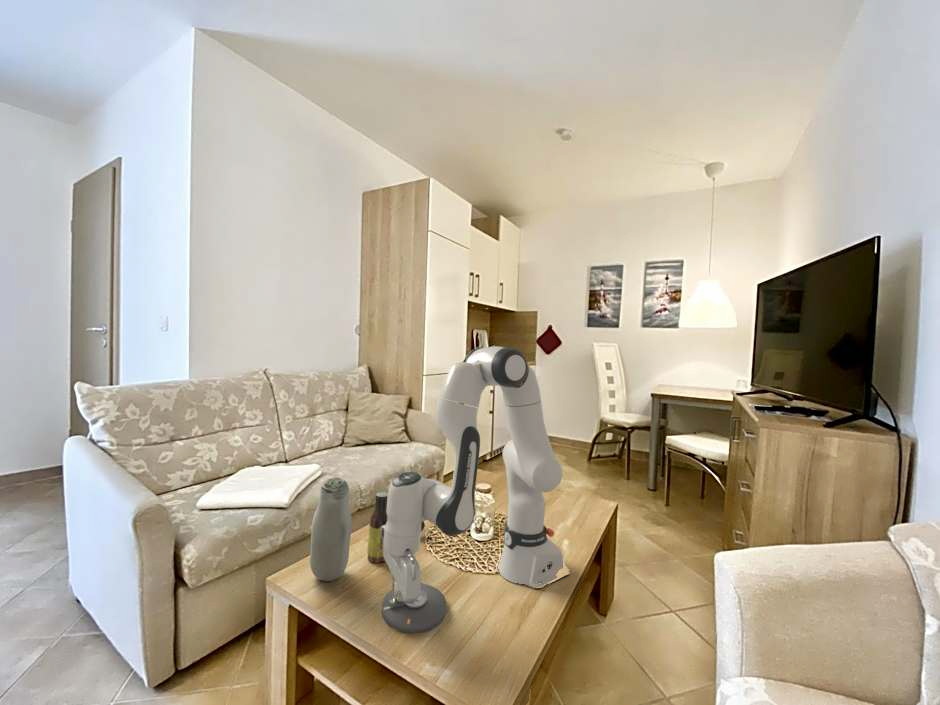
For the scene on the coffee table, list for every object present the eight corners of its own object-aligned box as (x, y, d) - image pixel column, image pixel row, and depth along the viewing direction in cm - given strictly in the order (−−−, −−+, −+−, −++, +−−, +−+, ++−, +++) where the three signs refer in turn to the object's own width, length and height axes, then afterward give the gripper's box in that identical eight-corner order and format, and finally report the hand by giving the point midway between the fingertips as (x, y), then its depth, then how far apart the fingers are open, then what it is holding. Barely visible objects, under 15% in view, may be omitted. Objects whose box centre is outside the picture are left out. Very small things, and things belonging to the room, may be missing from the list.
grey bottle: (301, 581, 109) (307, 481, 108) (327, 562, 119) (333, 470, 118) (330, 592, 106) (337, 488, 105) (354, 572, 115) (361, 476, 114)
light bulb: (421, 591, 106) (423, 569, 105) (430, 605, 100) (431, 582, 100) (386, 599, 101) (388, 576, 101) (393, 615, 96) (394, 590, 96)
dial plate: (432, 584, 113) (432, 576, 112) (455, 623, 98) (456, 614, 98) (375, 597, 105) (375, 589, 105) (391, 641, 91) (392, 631, 91)
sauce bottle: (382, 565, 120) (387, 500, 119) (363, 561, 121) (367, 497, 120) (391, 554, 126) (395, 492, 125) (372, 550, 127) (377, 489, 127)
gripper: (429, 560, 91) (425, 619, 92) (402, 520, 109) (398, 569, 110) (402, 565, 88) (398, 626, 89) (379, 523, 106) (376, 573, 107)
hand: (398, 594), depth 100 cm, fingers closed on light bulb, 2 cm apart
